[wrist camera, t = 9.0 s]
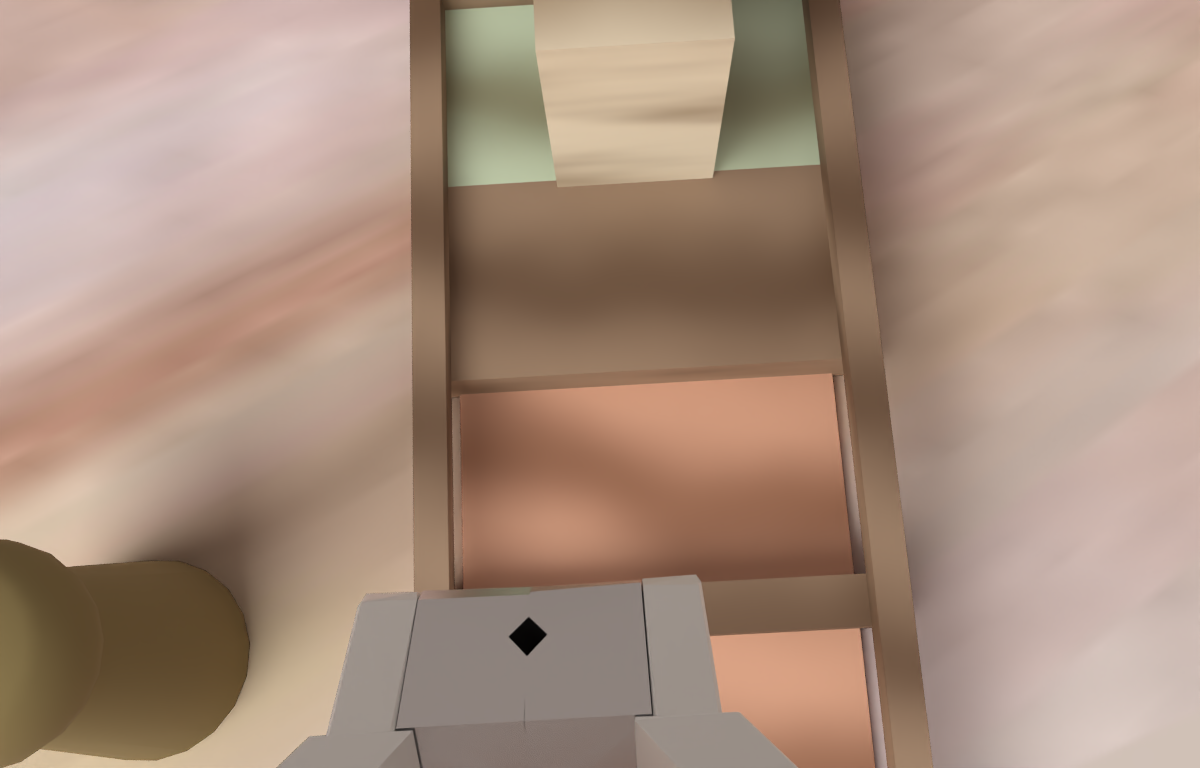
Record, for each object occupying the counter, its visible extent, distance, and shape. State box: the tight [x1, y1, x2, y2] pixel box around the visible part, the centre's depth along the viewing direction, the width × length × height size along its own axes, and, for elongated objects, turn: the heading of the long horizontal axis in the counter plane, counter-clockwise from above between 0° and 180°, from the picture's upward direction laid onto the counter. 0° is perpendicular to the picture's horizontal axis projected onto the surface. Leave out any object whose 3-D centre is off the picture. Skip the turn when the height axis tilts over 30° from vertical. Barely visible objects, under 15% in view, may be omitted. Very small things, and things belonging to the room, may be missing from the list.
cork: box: [0, 540, 250, 768], centre depth 28 cm, size 6×6×11 cm
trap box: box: [410, 0, 933, 768], centre depth 32 cm, size 30×14×6 cm, turn 3°
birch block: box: [533, 0, 735, 187], centre depth 32 cm, size 5×5×8 cm
